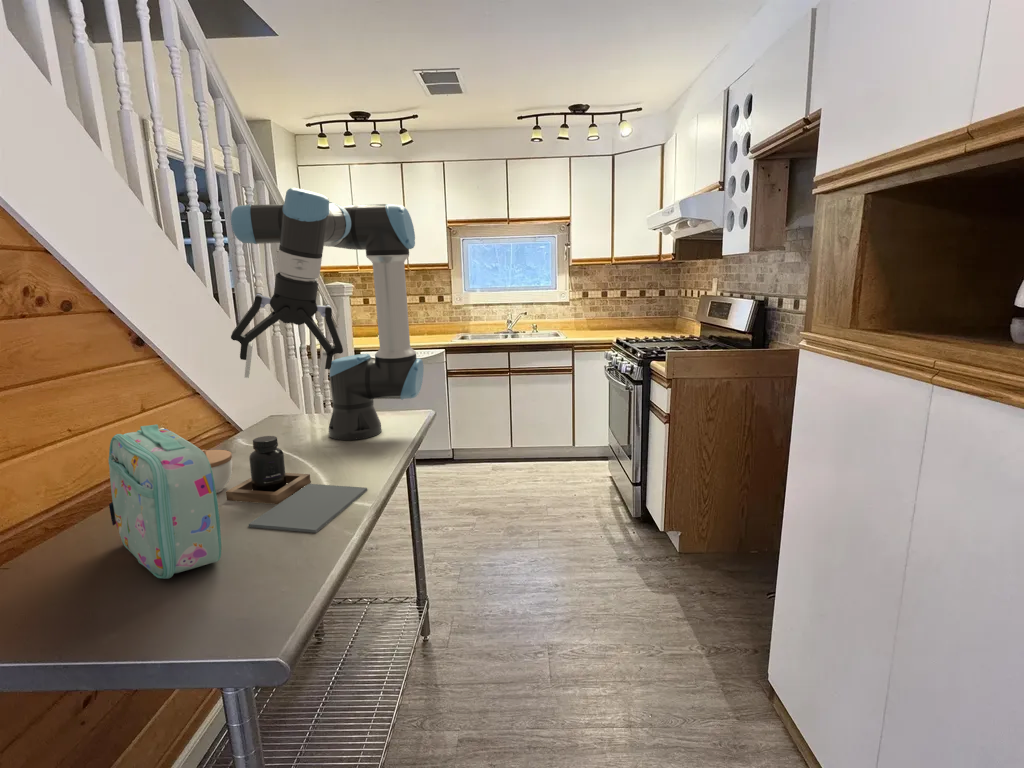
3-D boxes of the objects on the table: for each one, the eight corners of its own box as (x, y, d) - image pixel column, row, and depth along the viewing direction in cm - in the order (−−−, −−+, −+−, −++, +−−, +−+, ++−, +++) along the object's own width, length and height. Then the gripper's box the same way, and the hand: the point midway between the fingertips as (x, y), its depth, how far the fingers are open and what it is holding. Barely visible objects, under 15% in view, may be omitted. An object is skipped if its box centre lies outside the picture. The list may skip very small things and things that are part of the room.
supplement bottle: (274, 498, 113) (268, 444, 110) (246, 496, 114) (239, 442, 112) (293, 486, 119) (288, 434, 117) (266, 484, 121) (260, 433, 118)
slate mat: (309, 486, 119) (309, 483, 119) (367, 490, 116) (367, 487, 116) (248, 526, 100) (248, 523, 100) (316, 533, 97) (315, 529, 97)
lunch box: (110, 541, 95) (89, 426, 91) (174, 520, 103) (157, 413, 99) (162, 596, 79) (139, 457, 74) (234, 566, 86) (217, 439, 82)
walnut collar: (264, 479, 124) (263, 471, 123) (310, 482, 121) (309, 474, 121) (226, 500, 112) (225, 491, 112) (277, 504, 110) (276, 495, 109)
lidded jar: (173, 491, 117) (167, 451, 116) (225, 478, 125) (220, 439, 123) (189, 505, 110) (182, 462, 108) (243, 489, 118) (238, 449, 116)
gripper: (220, 266, 92) (211, 379, 99) (367, 292, 102) (350, 392, 109) (225, 258, 98) (216, 364, 105) (363, 283, 109) (347, 378, 116)
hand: (284, 379), depth 107 cm, fingers open, 13 cm apart
